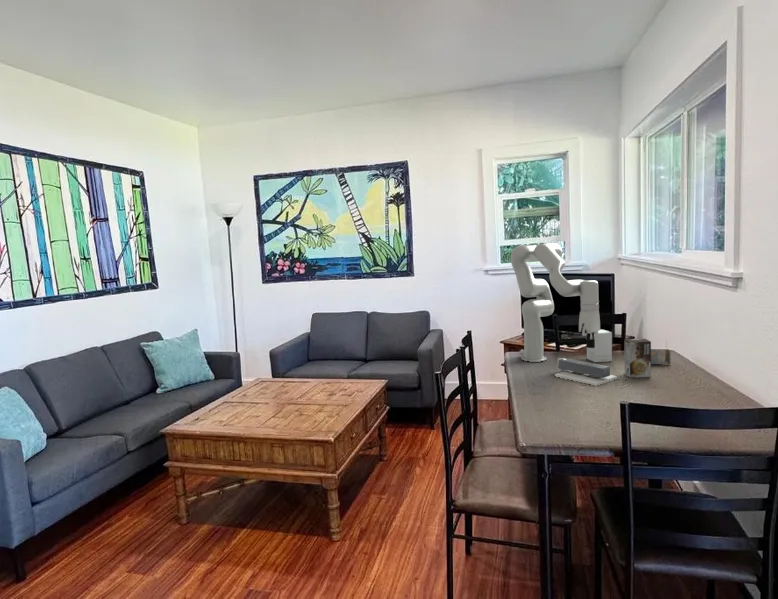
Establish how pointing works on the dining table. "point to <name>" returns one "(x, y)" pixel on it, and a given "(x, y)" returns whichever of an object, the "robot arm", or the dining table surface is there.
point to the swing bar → (584, 367)
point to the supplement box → (601, 347)
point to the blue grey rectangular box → (661, 356)
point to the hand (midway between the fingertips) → (590, 347)
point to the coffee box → (637, 358)
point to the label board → (584, 377)
